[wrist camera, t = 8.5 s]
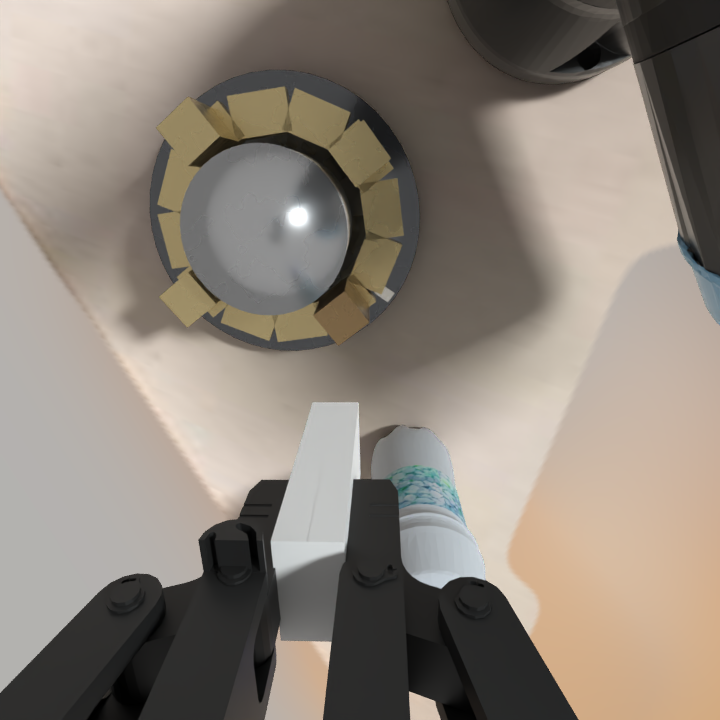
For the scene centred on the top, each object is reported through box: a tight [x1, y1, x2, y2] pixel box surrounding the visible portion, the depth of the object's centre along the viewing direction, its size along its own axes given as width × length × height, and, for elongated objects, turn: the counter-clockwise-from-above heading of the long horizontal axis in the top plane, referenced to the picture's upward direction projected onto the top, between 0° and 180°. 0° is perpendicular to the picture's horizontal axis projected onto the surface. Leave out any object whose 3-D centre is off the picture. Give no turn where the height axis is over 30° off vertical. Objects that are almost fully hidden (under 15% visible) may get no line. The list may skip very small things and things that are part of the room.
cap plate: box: [150, 70, 420, 351], centre depth 31 cm, size 18×18×9 cm
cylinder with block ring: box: [156, 86, 404, 346], centre depth 31 cm, size 15×15×5 cm
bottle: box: [371, 425, 486, 589], centre depth 32 cm, size 7×7×20 cm
